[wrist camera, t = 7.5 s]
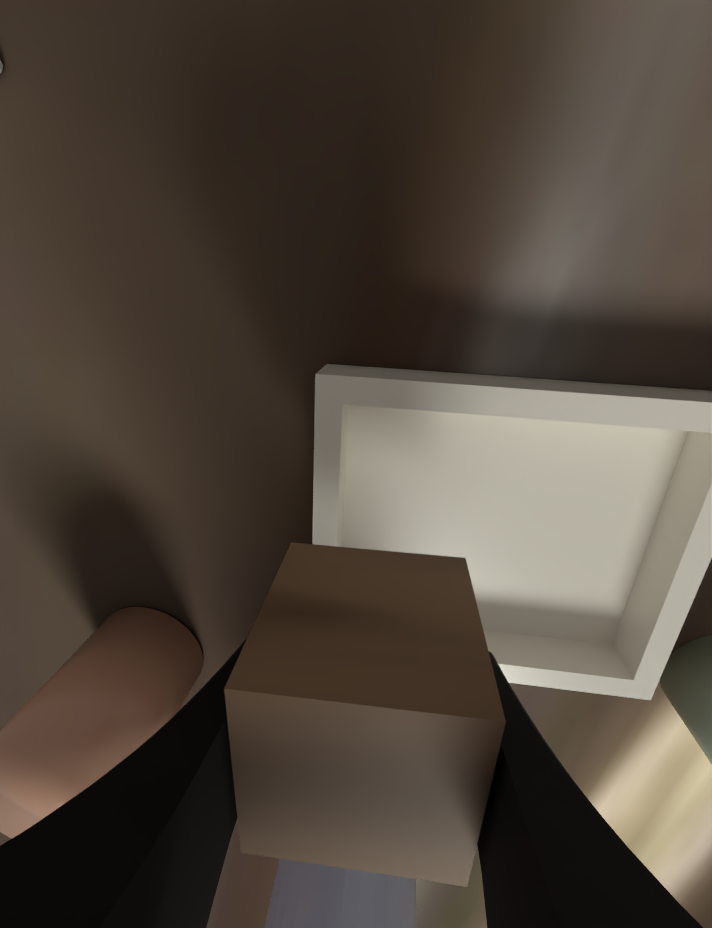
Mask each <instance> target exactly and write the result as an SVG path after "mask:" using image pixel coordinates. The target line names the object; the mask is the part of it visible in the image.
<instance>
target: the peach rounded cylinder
mask: <svg viewBox="0 0 712 928" xmlns="http://www.w3.org/2000/svg"><path fill="white" fill-rule="evenodd" d="M202 667H203V655H202V651H201V648H200V646H199V643H198V642H197V640H196V638H195V637H194V636H193V634H192V633H191V632H190V631H189V630H188V629H187V628H186V627H185V626H184V625H183V624H182V623H180V622H179V621H178V620H176V619H175V618H173V617H171V616H170V615H167V614H165V613H163V612H161V611H158V610H155V609H151V608H145V607H128V608H123V609H121V610H118V611H116V612H114V613H113V614H112V615H110V616H109V617H108V618H107V619H106V620H105V621H104V623H103V624H102V625H101V626H100V627H99V628H98V629H97V630H96V631H95V632H94V633H93V634H92V635H91V636H90V637H89V638H88V639H87V640H86V641H85V642H84V643H83V645H82V646H81V647H80V648H79V649H78V650H77V651H76V652H75V653H74V654H73V655H72V656H71V657H70V658H69V659H68V660H67V661H66V662H65V663H64V664H63V665H62V666H61V668H60V669H59V670H58V671H57V672H56V673H55V674H54V675H53V676H52V677H51V678H50V679H49V680H48V681H47V682H46V683H45V684H44V685H43V686H42V687H41V688H40V690H39V691H38V692H37V693H36V694H35V695H34V696H33V697H32V698H31V699H30V700H29V701H28V702H27V703H26V704H25V705H24V706H23V707H22V708H21V709H20V710H19V712H18V713H17V714H16V715H15V716H14V717H13V718H12V719H11V720H10V721H9V722H8V723H7V724H6V725H5V726H4V727H3V728H2V729H1V730H0V832H1V833H3V834H5V835H6V836H8V837H10V838H14V837H15V836H17V835H19V834H20V833H22V832H24V831H25V830H27V829H28V828H30V827H31V826H33V825H34V824H36V823H37V822H39V821H40V820H42V819H43V818H45V817H46V816H47V815H49V814H50V813H52V812H53V811H55V810H56V809H57V808H59V807H60V806H62V805H63V804H65V803H66V802H67V801H69V800H70V799H72V798H73V797H75V796H76V795H78V794H79V793H80V792H82V791H83V790H85V789H86V788H87V787H89V786H90V785H91V784H93V783H94V782H96V781H97V780H98V779H99V778H101V777H102V776H103V775H105V774H106V773H107V772H109V771H110V770H111V769H112V768H114V767H115V766H116V765H117V764H119V763H120V762H121V761H122V760H124V759H125V758H126V757H127V756H129V755H130V754H131V753H132V752H134V751H135V750H136V749H137V748H138V747H140V746H141V745H142V744H143V743H144V742H145V741H147V740H148V739H149V738H150V737H151V736H152V735H154V734H155V733H156V732H157V731H158V730H159V729H160V728H161V727H162V726H164V725H165V724H166V723H167V722H168V721H169V720H170V719H171V718H172V717H173V716H174V715H175V714H176V713H177V712H178V711H179V710H180V708H181V706H182V705H183V703H184V701H185V699H186V698H187V696H188V694H189V692H190V690H191V689H192V687H193V685H194V683H195V682H196V680H197V678H198V676H199V675H200V673H201V670H202Z"/></svg>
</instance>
